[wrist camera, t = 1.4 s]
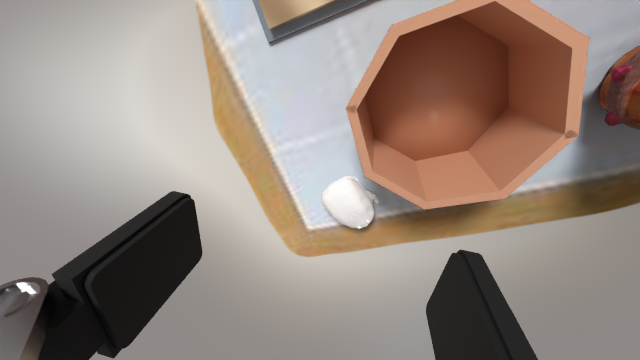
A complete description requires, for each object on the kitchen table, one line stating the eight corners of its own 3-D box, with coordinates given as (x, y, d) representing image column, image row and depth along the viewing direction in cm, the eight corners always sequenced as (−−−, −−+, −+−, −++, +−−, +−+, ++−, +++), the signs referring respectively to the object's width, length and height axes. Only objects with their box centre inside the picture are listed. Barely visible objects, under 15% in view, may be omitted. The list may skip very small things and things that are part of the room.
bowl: (515, -18, 22) (600, -56, 13) (514, 145, 28) (573, 189, 20) (345, 46, 27) (328, 48, 19) (376, 171, 33) (375, 216, 25)
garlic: (386, 204, 36) (387, 220, 33) (351, 226, 39) (349, 242, 36) (349, 165, 34) (346, 178, 31) (316, 191, 37) (310, 206, 34)
